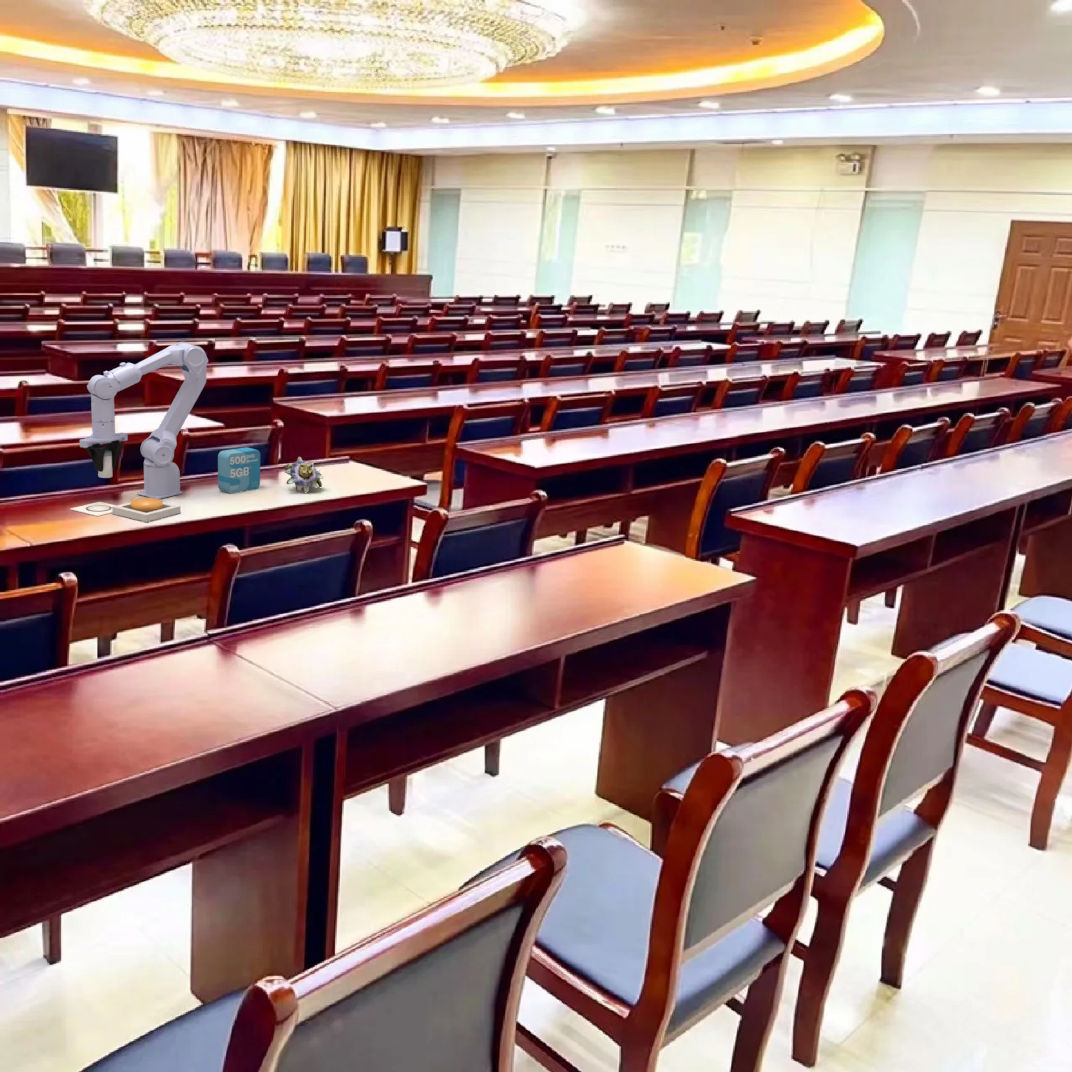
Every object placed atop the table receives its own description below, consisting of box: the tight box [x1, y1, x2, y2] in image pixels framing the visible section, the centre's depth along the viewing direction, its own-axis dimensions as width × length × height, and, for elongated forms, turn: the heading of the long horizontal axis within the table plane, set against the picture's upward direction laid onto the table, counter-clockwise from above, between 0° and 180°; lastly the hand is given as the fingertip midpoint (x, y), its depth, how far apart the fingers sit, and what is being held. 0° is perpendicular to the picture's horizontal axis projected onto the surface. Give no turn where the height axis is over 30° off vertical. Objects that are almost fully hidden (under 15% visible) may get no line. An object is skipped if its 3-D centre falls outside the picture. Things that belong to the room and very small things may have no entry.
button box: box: [111, 501, 181, 523], centre depth 276 cm, size 12×12×2 cm
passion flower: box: [283, 456, 324, 493], centre depth 313 cm, size 11×11×12 cm
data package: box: [217, 447, 261, 494], centre depth 306 cm, size 12×4×12 cm, turn 145°
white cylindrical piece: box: [97, 450, 113, 479], centre depth 283 cm, size 4×4×7 cm
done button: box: [129, 497, 164, 511], centre depth 275 cm, size 8×8×2 cm
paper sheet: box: [69, 501, 117, 517], centre depth 276 cm, size 10×10×1 cm
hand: (105, 469), depth 283 cm, fingers closed on white cylindrical piece, 4 cm apart
